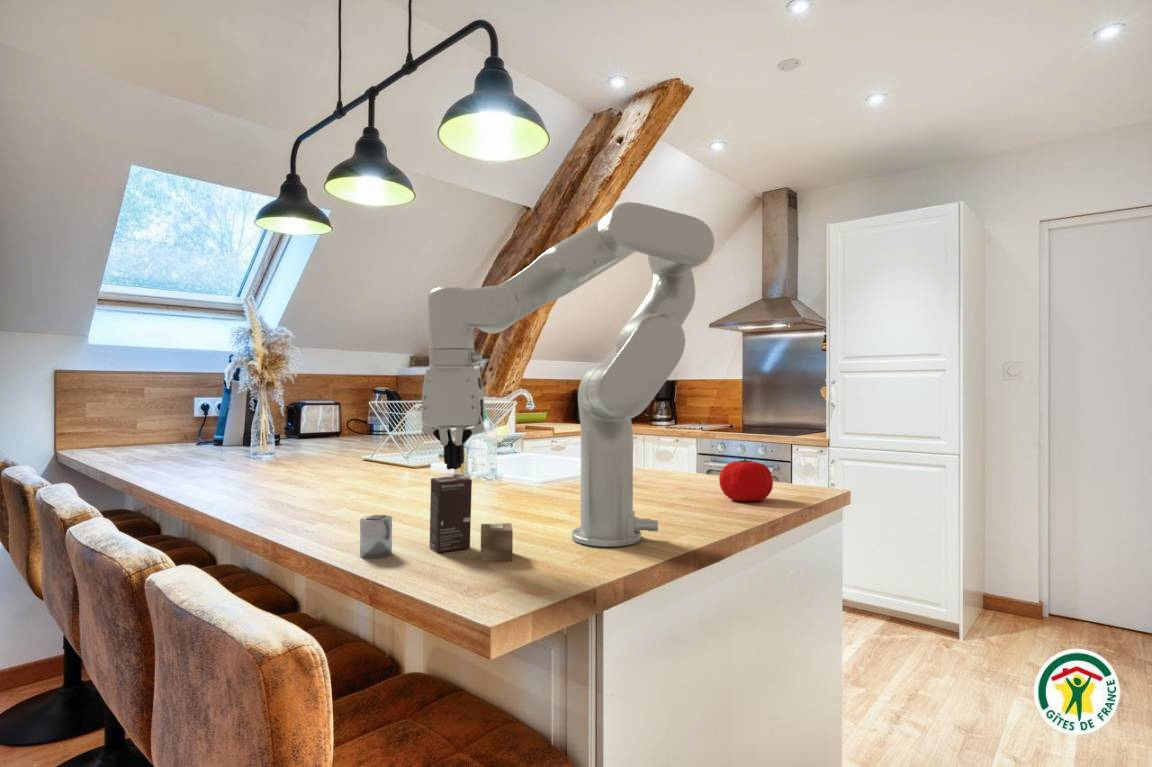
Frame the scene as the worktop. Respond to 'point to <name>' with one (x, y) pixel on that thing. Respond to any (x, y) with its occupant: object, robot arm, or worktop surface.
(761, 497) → the tomato
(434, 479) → the box
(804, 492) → the worktop surface
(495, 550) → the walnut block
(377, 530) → the grey tin
